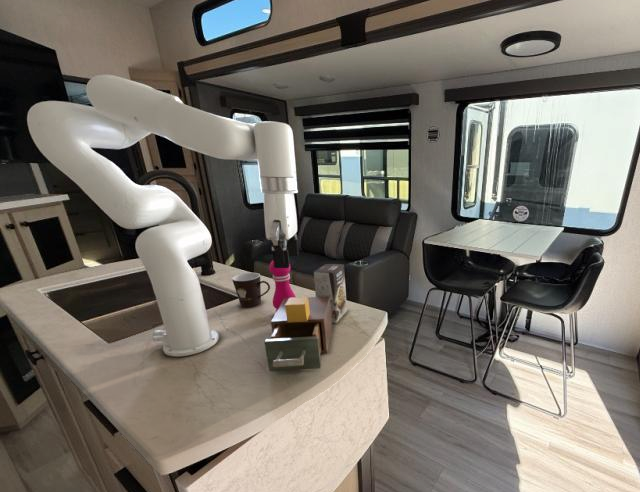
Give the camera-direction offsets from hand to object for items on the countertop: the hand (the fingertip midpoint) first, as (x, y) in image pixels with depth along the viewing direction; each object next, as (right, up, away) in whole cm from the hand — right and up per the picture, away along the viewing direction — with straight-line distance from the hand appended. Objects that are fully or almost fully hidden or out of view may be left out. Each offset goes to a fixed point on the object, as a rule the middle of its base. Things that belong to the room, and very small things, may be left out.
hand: (287, 261), depth 75 cm
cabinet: (+1, -21, +12) cm, 24 cm away
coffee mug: (-24, -13, +34) cm, 44 cm away
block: (+2, -14, +3) cm, 14 cm away
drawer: (+2, -24, +2) cm, 24 cm away
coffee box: (+5, -16, +26) cm, 31 cm away
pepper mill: (-10, -15, +27) cm, 33 cm away
